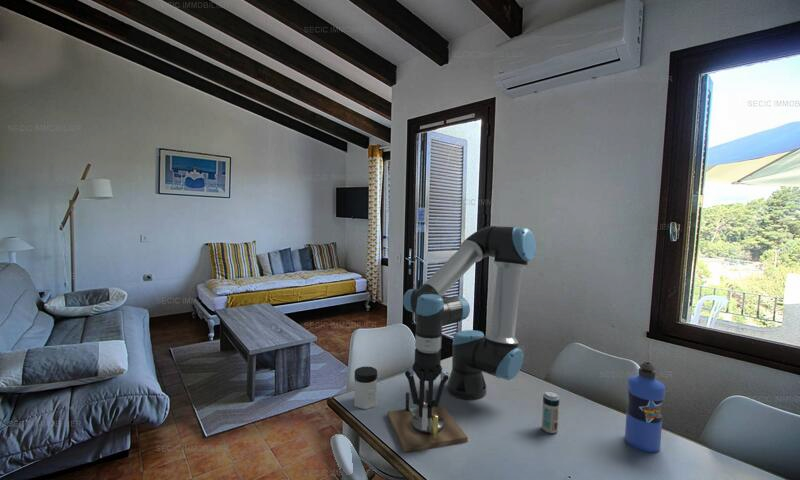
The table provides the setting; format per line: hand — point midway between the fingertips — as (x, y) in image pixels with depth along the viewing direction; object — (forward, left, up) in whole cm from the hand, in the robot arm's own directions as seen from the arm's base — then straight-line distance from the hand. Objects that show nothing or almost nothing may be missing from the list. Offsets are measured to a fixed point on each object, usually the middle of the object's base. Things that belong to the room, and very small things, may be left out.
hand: (424, 427), depth 108 cm
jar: (+12, -29, -6) cm, 32 cm away
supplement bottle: (-42, +2, -6) cm, 43 cm away
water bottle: (-65, +15, -6) cm, 67 cm away
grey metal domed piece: (-4, -8, -4) cm, 10 cm away
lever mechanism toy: (-4, -9, -6) cm, 12 cm away
